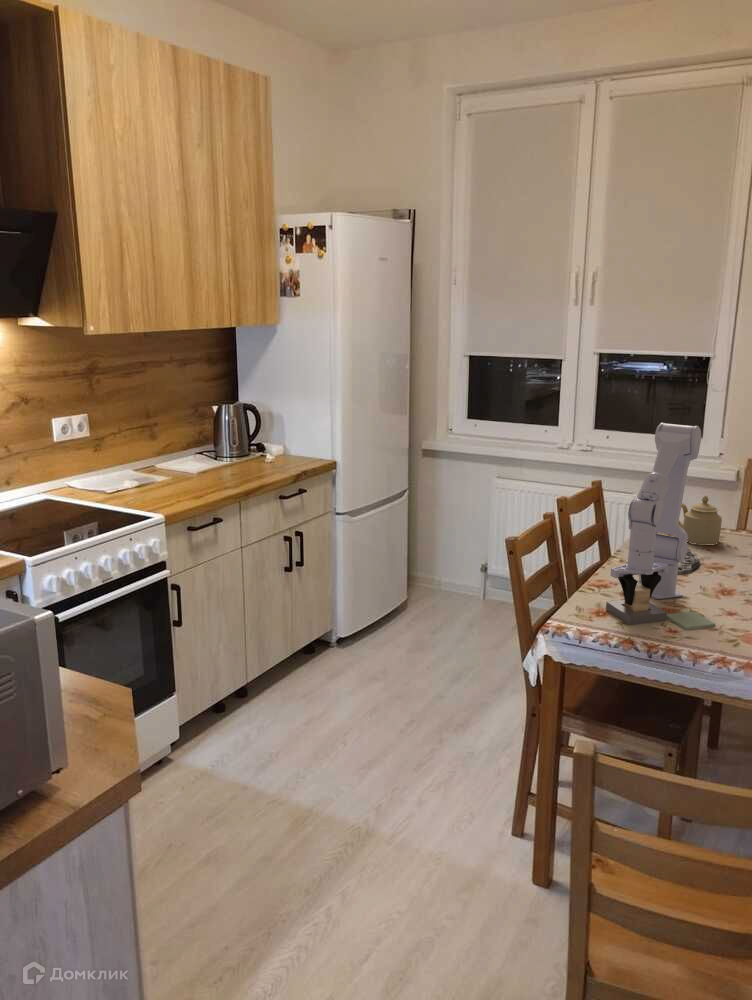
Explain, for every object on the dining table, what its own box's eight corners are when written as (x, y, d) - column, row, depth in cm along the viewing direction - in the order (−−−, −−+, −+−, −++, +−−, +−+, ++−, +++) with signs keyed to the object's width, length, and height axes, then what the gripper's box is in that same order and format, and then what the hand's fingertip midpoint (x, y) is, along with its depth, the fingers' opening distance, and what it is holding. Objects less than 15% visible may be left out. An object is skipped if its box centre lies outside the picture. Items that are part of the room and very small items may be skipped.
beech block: (623, 612, 189) (626, 585, 188) (637, 610, 190) (640, 583, 189) (633, 618, 186) (635, 591, 184) (647, 616, 187) (650, 589, 185)
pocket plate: (605, 609, 191) (606, 601, 191) (641, 605, 194) (641, 597, 193) (629, 624, 182) (630, 617, 181) (666, 620, 185) (666, 612, 184)
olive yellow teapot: (667, 541, 247) (672, 495, 243) (670, 532, 256) (675, 488, 253) (718, 547, 241) (724, 500, 237) (719, 538, 250) (724, 493, 247)
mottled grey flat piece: (667, 542, 243) (702, 544, 239) (667, 547, 243) (702, 549, 239) (659, 570, 218) (698, 573, 214) (659, 575, 218) (697, 578, 214)
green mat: (664, 616, 187) (664, 614, 187) (692, 613, 189) (692, 611, 189) (686, 629, 179) (686, 627, 179) (715, 626, 182) (715, 623, 181)
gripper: (624, 556, 178) (619, 611, 181) (678, 551, 182) (672, 605, 185) (607, 547, 185) (603, 601, 188) (659, 542, 189) (654, 595, 192)
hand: (636, 602), depth 187 cm, fingers closed on beech block, 4 cm apart
